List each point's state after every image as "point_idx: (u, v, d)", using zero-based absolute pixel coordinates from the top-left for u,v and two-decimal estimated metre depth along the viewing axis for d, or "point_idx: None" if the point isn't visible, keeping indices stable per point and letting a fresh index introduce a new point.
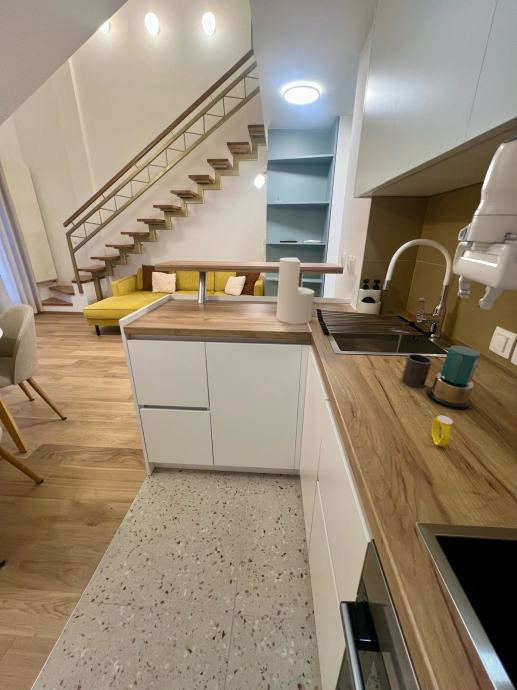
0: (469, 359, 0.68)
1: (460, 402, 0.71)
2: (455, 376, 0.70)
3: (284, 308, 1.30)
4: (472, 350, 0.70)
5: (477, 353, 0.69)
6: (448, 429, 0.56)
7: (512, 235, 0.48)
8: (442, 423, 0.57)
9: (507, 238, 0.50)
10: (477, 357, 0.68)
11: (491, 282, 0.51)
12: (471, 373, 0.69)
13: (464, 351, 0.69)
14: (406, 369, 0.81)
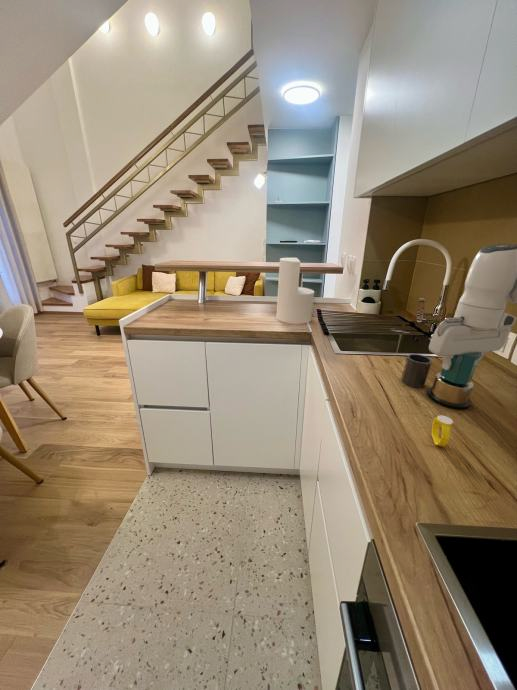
0: (469, 359, 0.68)
1: (460, 402, 0.71)
2: (455, 376, 0.70)
3: (284, 308, 1.30)
4: None
5: (477, 353, 0.69)
6: (448, 429, 0.56)
7: (453, 318, 0.66)
8: (442, 423, 0.57)
9: None
10: (477, 357, 0.68)
11: None
12: (471, 373, 0.69)
13: None
14: (406, 369, 0.81)
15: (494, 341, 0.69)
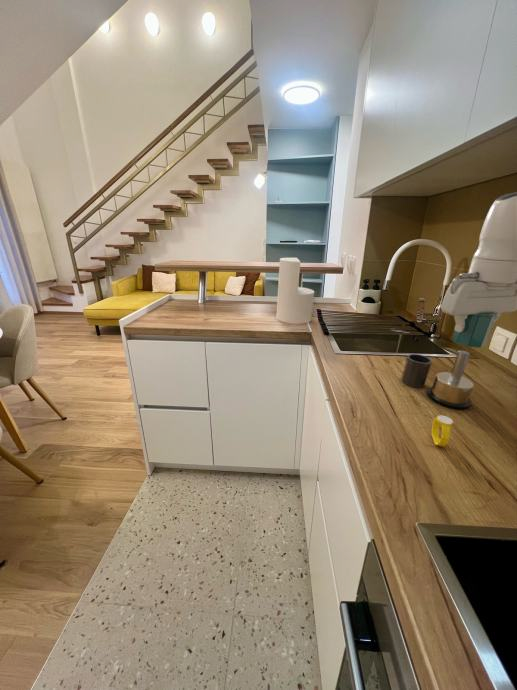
0: (485, 319, 0.64)
1: (460, 402, 0.71)
2: (469, 338, 0.66)
3: (284, 308, 1.30)
4: None
5: (492, 313, 0.64)
6: (448, 429, 0.56)
7: None
8: (442, 423, 0.57)
9: None
10: (493, 317, 0.64)
11: None
12: (486, 335, 0.65)
13: None
14: (406, 369, 0.81)
15: (511, 300, 0.65)
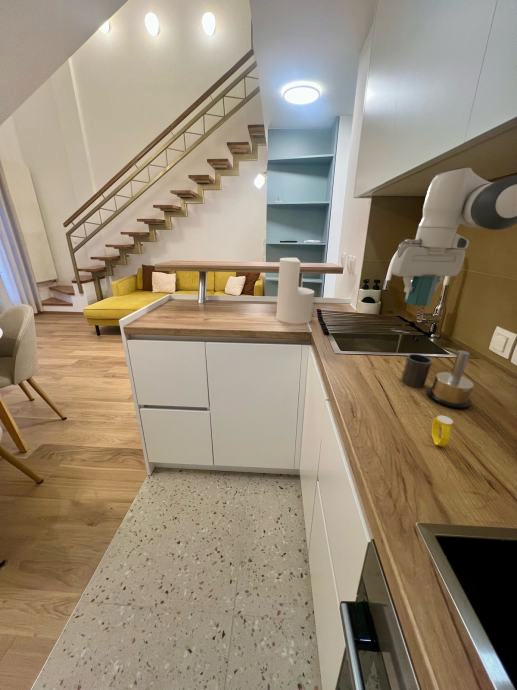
0: (427, 281, 0.74)
1: (460, 402, 0.71)
2: (415, 298, 0.77)
3: (284, 308, 1.30)
4: None
5: (435, 276, 0.75)
6: (448, 429, 0.56)
7: None
8: (442, 423, 0.57)
9: None
10: (434, 278, 0.75)
11: None
12: (430, 295, 0.76)
13: None
14: (406, 369, 0.81)
15: (451, 265, 0.76)
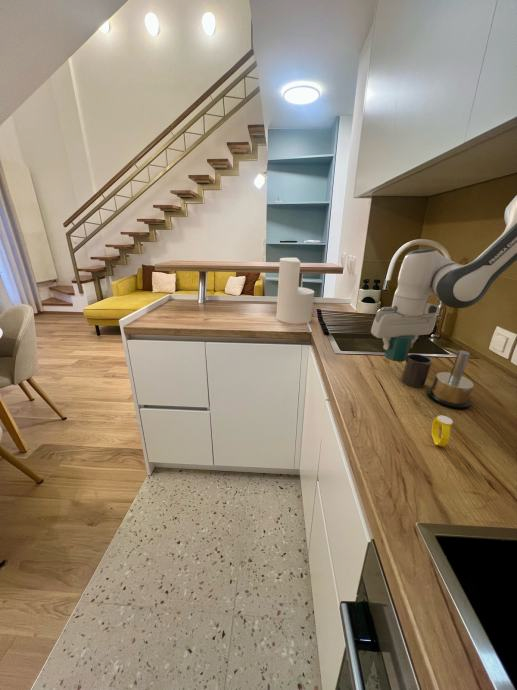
0: (403, 341, 0.84)
1: (460, 402, 0.71)
2: (393, 354, 0.87)
3: (284, 308, 1.30)
4: None
5: (410, 336, 0.85)
6: (448, 429, 0.56)
7: (388, 307, 0.82)
8: (442, 423, 0.57)
9: None
10: (409, 339, 0.84)
11: None
12: (405, 352, 0.86)
13: None
14: (406, 369, 0.81)
15: (424, 326, 0.85)
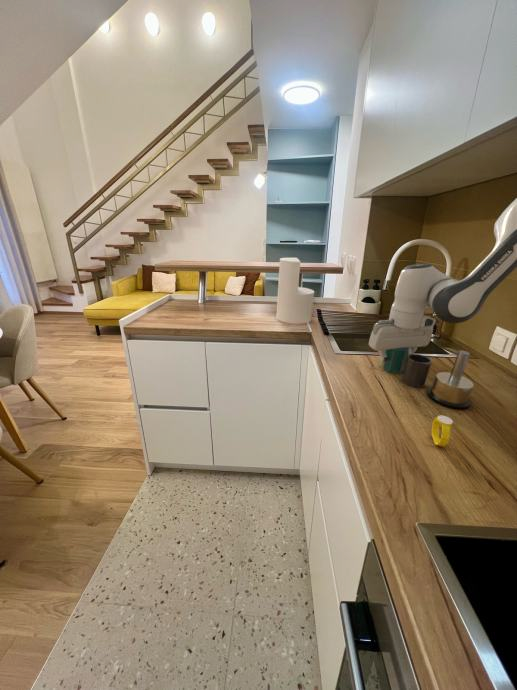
0: (400, 353, 0.86)
1: (460, 402, 0.71)
2: (390, 366, 0.88)
3: (284, 308, 1.30)
4: None
5: (406, 348, 0.87)
6: (448, 429, 0.56)
7: (386, 320, 0.84)
8: (442, 423, 0.57)
9: None
10: (406, 351, 0.86)
11: None
12: (402, 364, 0.88)
13: None
14: (406, 369, 0.81)
15: (421, 338, 0.87)
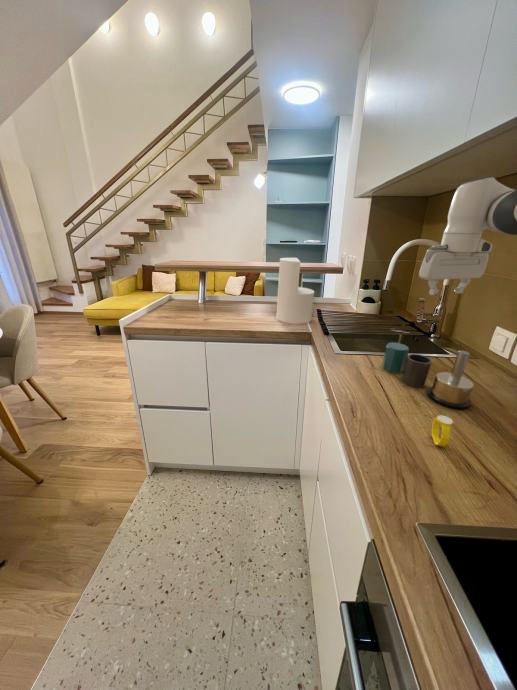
0: (400, 353, 0.86)
1: (460, 402, 0.71)
2: (390, 366, 0.88)
3: (284, 308, 1.30)
4: (403, 346, 0.89)
5: (406, 348, 0.87)
6: (448, 429, 0.56)
7: (439, 246, 0.77)
8: (442, 423, 0.57)
9: None
10: (406, 351, 0.86)
11: None
12: (402, 364, 0.88)
13: (396, 347, 0.87)
14: (406, 369, 0.81)
15: (475, 267, 0.80)
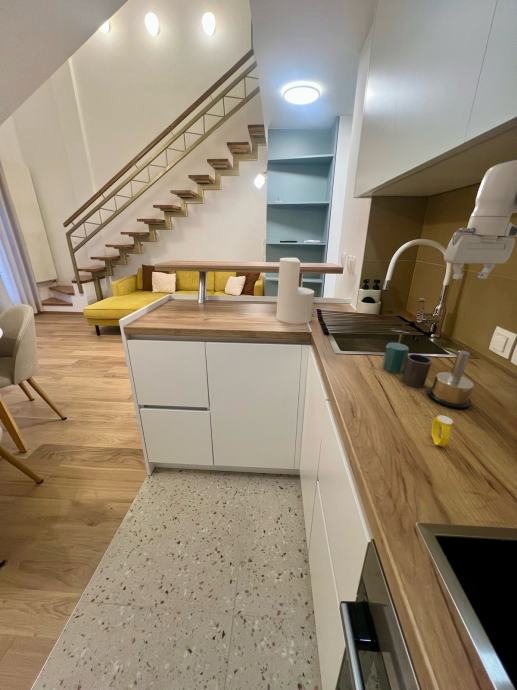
0: (400, 353, 0.86)
1: (460, 402, 0.71)
2: (390, 366, 0.88)
3: (284, 308, 1.30)
4: (403, 346, 0.89)
5: (406, 348, 0.87)
6: (448, 429, 0.56)
7: None
8: (442, 423, 0.57)
9: None
10: (406, 351, 0.86)
11: None
12: (402, 364, 0.88)
13: (396, 347, 0.87)
14: (406, 369, 0.81)
15: (501, 252, 0.80)
